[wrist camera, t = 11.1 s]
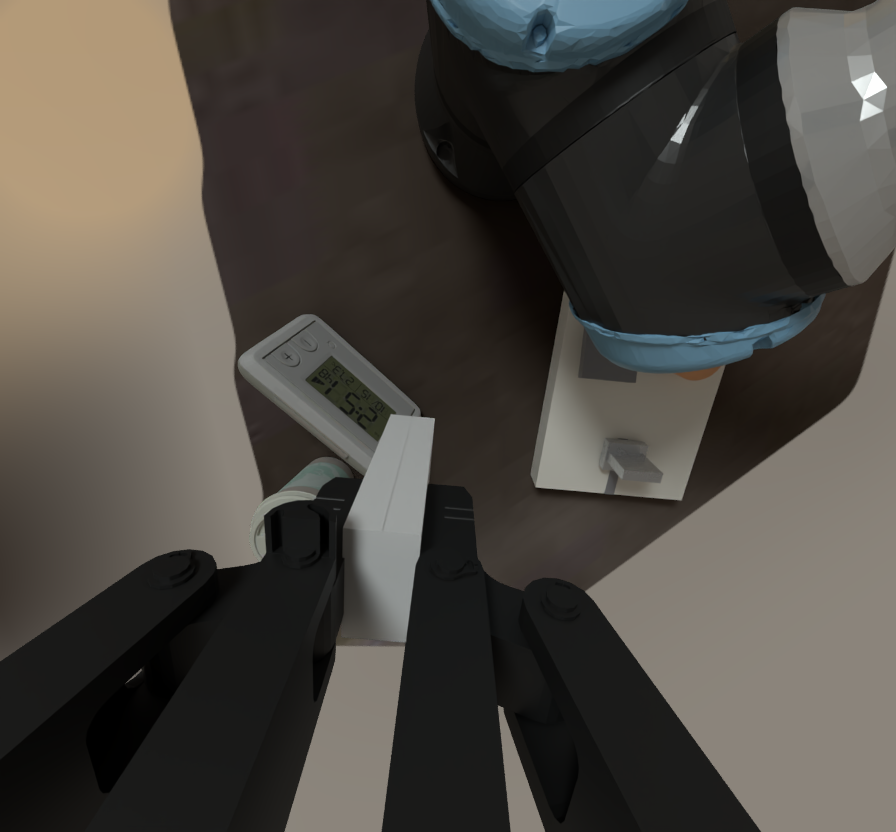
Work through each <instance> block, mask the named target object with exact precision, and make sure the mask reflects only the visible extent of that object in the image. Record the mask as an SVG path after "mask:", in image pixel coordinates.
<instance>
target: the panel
mask: <svg viewBox="0 0 896 832" xmlns="http://www.w3.org/2000/svg"><path fill="white" fill-rule="evenodd" d="M569 301H570V300H569V298H568V296H567V295H566V293H565V291H564V293H563V299H562V304H561V310H560V315H559V321H558V326H557V332H556V337H555V343H554V348H553V354H552V359H551V365H550V370H549V376H548V381H547V387H546V392H545V398H544V403H543V409H542V414H541V420H540V425H539V431H538V436H537V442H536V447H535V453H534V458H533V464H532V469H531V477H532V479H533V482H534V485H535V487H538V488H549V489H560V490H571V491H582V492H593V493H604V494H611V495H614V494H616V495H627V496H638V497H649V498H660V499H671V500H682V497H683V494H684V491H685V488H686V485H687V482H688V479H689V476H690V473H691V470H692V467H693V463H694V460H695V457H696V454H697V451H698V448H699V445H700V442H701V439H702V436H703V433H704V430H705V427H706V424H707V420H708V417H709V414H710V411H711V408H712V405H713V402H714V399H715V396H716V393H717V390H718V387H719V384H720V381H721V377H722V374H723V371H724V368H725V365H723V366H721V367H720V368H719V369H718V370H717V371H716V372H715V373H714V374H713V375H711V376H709V377H707V378H705V379H702V380H696V381H693V380H687V379H685V378H682V377H680V376H678V375H676V374H674V373H665V374H657V373H644V372H637V377H636V383H626V382H616V381H606V380H595V379H585V378H578V373H579V365H580V357H581V348H582V340H583V332H584V326H583V325H581V324H580V322H579V321H578V320H576V319H575V317H574V316H573V314H572V312H571V310H570V307H569ZM605 438H611V439H622V440H633V441H643V442H645V443H646V444H647V445H648V446H649V447H648V450H647V454H646V457H647V458H648V459H649V460H650V461H651V462H652V463H653V464H654V465H655V466H656V467H657V468H658V469H659V470H660V471H661V472H662V473H663V477H662V480H661V483H651V482H640V481H629V480H622V479H621V478H620V477H619V476H618V474H617V473H616V472H615V471H613V470H602V468H601V467H600V466H599V460H600V456H601V452H602V448H603V444H604V439H605Z"/></svg>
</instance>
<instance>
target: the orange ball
mask: <svg viewBox="0 0 896 832" xmlns="http://www.w3.org/2000/svg"><path fill="white" fill-rule="evenodd" d="M720 367H721V366H719V367H714V368H709V369H704V370H698V371H691V372H682V373H674V374H676V375H678V376H680V377H682V378H685V379H687V380H693V381H696V380H702V379H705V378H707V377H709V376H711V375H713V374H714V373H715V372H716V371H717V370H718V369H719V368H720Z"/></svg>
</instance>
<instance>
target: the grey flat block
mask: <svg viewBox="0 0 896 832" xmlns="http://www.w3.org/2000/svg"><path fill="white" fill-rule="evenodd" d="M636 377H637V371H632V370H628V369H625V368H622V367H619V366H617V365H616V364H614V363H612V362H610V361H609V360H608V359H607V358H606V357H604V356H602V355H601V354H600V353H599V351H598V350H597V349H596V347H595V345H594V344H593V342H592V340H591V338H590V337H589V335H588V333H587V332H586V330H585V328H584V332H583V340H582V348H581V357H580V365H579V373H578V378H585V379H595V380H606V381H616V382H626V383H636Z"/></svg>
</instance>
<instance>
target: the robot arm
mask: <svg viewBox="0 0 896 832" xmlns="http://www.w3.org/2000/svg"><path fill="white" fill-rule="evenodd" d="M426 2H427V12H428V21H429V30H428V32H427V34H426V36H425V39H424V42H423V44H422V47H421V51H420V54H419V58H418V63H417V69H416V76H415V106H416V113H417V118H418V123H419V127H420V131H421V135H422V138H423V141H424V144H425V146H426V148H427V150H428V152H429V154H430V156H431V158H432V160H433V161H434V163H435V164H436V166H437V167H438V168H439V170H440V171H441V172H442V173H443V174H444V175H445V176H446V177H447V178H448V179H449V180H450V181H451V182H452V183H453V184H455V185H456V186H457V187H459V188H460V189H462V190H463V191H465V192H467V193H469V194H471V195H474V196H477V197H480V198H483V199H488V200H498V201H504V200H513V199H517V201H518V203H519V205H520V206H521V208H522V210H523V212H524V214H525V216H526V218H527V220H528V222H529V224H530V226H531V228H532V229H533V231H534V233H535V235H536V237H537V239H538V241H539V243H540V245H541V247H542V249H543V250H544V252H545V254H546V256H547V258H548V260H549V262H550V264H551V266H552V268H553V270H554V272H555V273H556V275H557V277H558V279H559V281H560V283H561V285H562V287H563V289H564V291H565V293H566V295H567V296H568V298H569V300H570V301H569V307H570V310H571V312H572V314H573V316H574V317H575V319H576V320H578V321H579V322H580V324H581V325H583V326H584V328H585V330H586V332H587V333H588V335H589V337H590V338H591V340H592V342H593V344H594V345H595V347H596V349H597V350H598V351H599V353H600V354H601V355H602V356H604V357H606V358H607V359H608V360H609V361H610V362H612V363H614V364H616V365H617V366H619V367H622V368H625V369H628V370H632V371H637V372H644V373H657V374H665V373H682V372H691V371H698V370H704V369H709V368H714V367H719V366H723V365H727V364H730V363H734V362H737V361H740V360H743V359H746V358H749V357H750V356H751V355H752V353H753V350H754V349H760V348H774V347H776V346H778V345H780V344H782V343H784V342H786V341H787V340H789V339H791V338H793V337H794V336H796V335H797V334H798V333H800V332H801V331H802V330H804V329H805V328H806V327H807V326H808V325H809V324H810V323H811V322H812V321H813V320H814V319H815V318H816V316H817V314H818V313H819V311H820V308H821V303H822V302H823V300H824V297H825V294H826V293H828V292H832V291H836V290H839V289H843V288H847V287H850V286H854V285H857V284H861V283H863V282H865V281H866V280H867V279H868V278H869V277H870V276H871V274H872V273H873V272H874V271H875V270H876V269H877V268H878V266H879V265H880V264H881V263H882V262H883V261H884V260H885V258H886V257H887V256H888V255H889V254H890V253H891V251H892V250H893V249H894V248H895V247H896V0H877V1H876V2H874V3H873V4H870V5H868V6H865V7H863V8H860V9H858V10H855V11H853V12H852V11H838V10H825V9H811V8H798V7H797V8H792V9H790V10H788V11H787V12H785V13H784V14H783V15H782V16H780V17H779V18H777V19H776V20H775V21H773V22H772V23H771V24H769V25H768V26H766V27H765V28H764V29H762V30H761V31H759V32H758V33H757V34H755V35H754V36H753V37H751V38H750V39H748V40H747V41H746V42H744V43H740V41H739V38H738V35H737V33H736V32H737V31H736V29H735V26H734V23H733V20H732V17H731V13H730V10H729V7H728V4H727V1H726V0H426ZM434 422H435V418H425V417H415V416H404V415H393V414H391V415H390V418H389V420H388V422H387V425H386V427H385V429H384V432H383V434H382V437H381V439H380V441H379V444H378V446H377V448H376V451H375V453H374V455H373V458H372V460H371V463H370V465H369V467H368V470H367V472H366V474H365V477H364V479H355V478H343V477H335V478H333V479H332V480H330V481H329V482H327V483H325V484H324V485H322V487H321V489H320V490H319V492H318V494H317V495H316V499H314V500H296V501H292V502H287V503H283V504H281V505H279V506H277V507H274V508H272V509H271V510H270V511H269V512H268V513H266V514H265V515H264V527H265V544H266V554H265V555H264V557H263V558H262V560H261V561H260V562H258V563H254V564H250V565H245V566H239V567H231V568H223V569H217V566H216V562H215V560H214V558H213V556H212V555H210V554H208V553H206V552H204V551H199V550H190V549H189V550H180V551H173V552H170V553H167V554H163V555H161V556H157V557H155V558H153V559H152V560H150V561H148V562H146V563H144V564H142V565H141V566H139V567H138V568H136V569H135V570H133V571H132V572H130V573H129V574H127V575H126V576H124V577H123V578H122V579H120V580H119V581H117V582H116V583H114V584H113V585H112V586H110V587H108V588H107V589H106V590H104V591H103V592H101V593H100V594H98V595H97V596H95V597H94V598H92V599H91V600H89V601H88V602H87V603H85V604H84V605H82V606H81V607H79V608H78V609H76V610H75V611H74V612H72V613H70V614H69V615H68V616H66V617H65V618H63V619H62V620H60V621H59V622H57V623H56V624H54V625H53V626H51V627H50V628H49V629H47V630H46V631H44V632H43V633H41V634H40V635H38V636H37V637H35V638H34V639H32V640H31V641H30V642H28V643H27V644H25V645H24V646H22V647H21V648H19V649H18V650H16V651H15V652H14V653H12V654H11V655H9V656H8V657H6V658H5V659H3V660H2V661H0V832H284V831H285V828H286V824H287V821H288V818H289V814H290V811H291V807H292V804H293V801H294V797H295V794H296V791H297V787H298V784H299V781H300V777H301V774H302V770H303V767H304V764H305V760H306V756H307V753H308V750H309V746H310V743H311V740H312V737H313V733H314V729H315V726H316V723H317V719H318V716H319V713H320V710H321V706H322V703H323V699H324V696H325V693H326V689H327V686H328V683H329V679H330V676H331V672H332V669H333V666H334V662H335V653H336V637H337V634H338V631H339V628H340V625H341V621H342V628H341V637H344V638H356V639H369V640H381V641H394V642H406V644H405V652H404V660H403V668H402V676H401V685H400V692H399V700H398V708H397V716H396V724H395V731H394V739H393V747H392V755H391V763H390V770H389V778H388V786H387V794H386V802H385V810H384V818H383V826H382V832H510V822H509V812H508V802H507V792H506V782H505V773H504V764H503V753H502V743H501V733H500V724H499V714H498V705H499V706H501V707H503V708H504V714H505V717H506V720H507V723H508V726H509V728H510V731H511V734H512V737H513V740H514V743H515V746H516V748H517V752H518V754H519V757H520V760H521V763H522V766H523V769H524V772H525V774H526V777H527V780H528V783H529V786H530V789H531V792H532V795H533V798H534V800H535V803H536V806H537V809H538V812H539V815H540V818H541V820H542V823H543V826H544V829H545V832H761V831H760V830H759V828H758V827H757V826H756V824H755V823H754V822H753V820H752V819H751V817H750V816H749V814H748V813H747V812H746V810H745V809H744V808H743V806H742V805H741V803H740V802H739V801H738V799H737V798H736V797H735V795H734V794H733V792H732V791H731V790H730V788H729V787H728V786H727V784H726V783H725V781H724V780H723V779H722V777H721V776H720V774H719V773H718V772H717V770H716V769H715V768H714V766H713V765H712V763H711V762H710V761H709V759H708V758H707V757H706V755H705V754H704V752H703V751H702V750H701V748H700V747H699V746H698V744H697V743H696V741H695V740H694V739H693V737H692V736H691V734H690V733H689V732H688V730H687V729H686V728H685V726H684V725H683V724H682V722H681V721H680V719H679V718H678V717H677V715H676V714H675V713H674V711H673V710H672V708H671V707H670V706H669V704H668V703H667V702H666V700H665V699H664V697H663V696H662V695H661V693H660V692H659V690H658V689H657V688H656V686H655V685H654V684H653V682H652V681H651V679H650V678H649V677H648V675H647V674H646V673H645V671H644V670H643V669H642V667H641V666H640V664H639V663H638V661H637V660H636V659H635V657H634V656H633V655H632V653H631V652H630V650H629V649H628V648H627V646H626V645H625V643H624V642H623V641H622V639H621V638H620V637H619V635H618V634H617V633H616V631H615V630H614V628H613V627H612V626H611V624H610V623H609V622H608V620H607V619H606V617H605V616H604V615H603V613H602V612H601V610H600V609H599V608H598V606H597V605H596V603H595V602H594V601H593V600H592V599H591V598H590V597H589V596H588V595H587V594H586V593H585V592H584V590H582V589H580V588H578V587H577V586H575V585H573V584H572V583H569V582H566V581H563V580H560V579H555V578H542V579H538V580H534V581H532V582H531V583H530V584H529V585H528V586H527V587H526V588H525V591H521V590H518V589H515V588H512V587H509V586H507V585H504V584H502V583H500V582H498V581H496V580H494V579H493V578H491V577H490V576H489V575H488V574H487V573H486V572H485V571H484V570H483V567H482V565H481V562H480V561H479V560H478V558H477V548H476V536H475V525H474V514H473V502H472V497H471V495H470V494H469V493H468V492H467V490H466V489H465V488H464V487H459V486H448V485H437V484H429V477H430V466H431V455H432V444H433V433H434ZM140 669H142V671H141V672H140V673H139V674H138V675H137V676H136V677H134V678H133V679H132V680H130V681H129V682H127V681H128V680H129V679H130V678H131V677H132V676H133V675H134V674H136V673H137V672H138V671H139V670H140ZM126 682H127V683H126ZM125 683H126V684H125Z"/></svg>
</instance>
